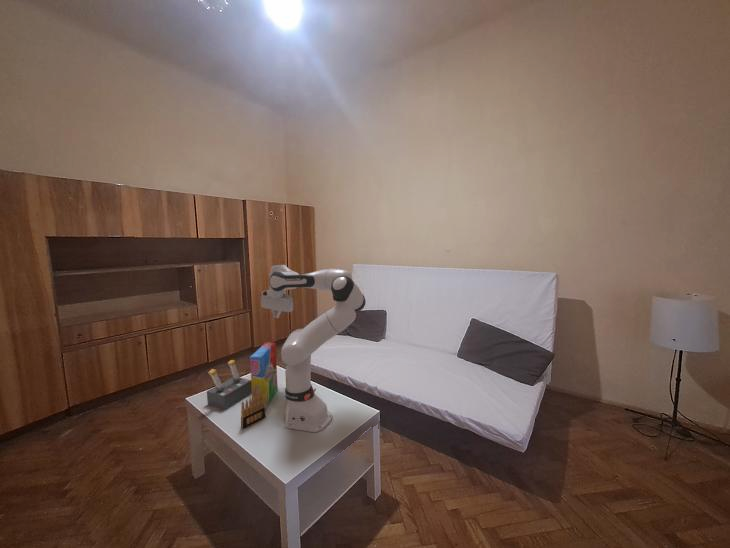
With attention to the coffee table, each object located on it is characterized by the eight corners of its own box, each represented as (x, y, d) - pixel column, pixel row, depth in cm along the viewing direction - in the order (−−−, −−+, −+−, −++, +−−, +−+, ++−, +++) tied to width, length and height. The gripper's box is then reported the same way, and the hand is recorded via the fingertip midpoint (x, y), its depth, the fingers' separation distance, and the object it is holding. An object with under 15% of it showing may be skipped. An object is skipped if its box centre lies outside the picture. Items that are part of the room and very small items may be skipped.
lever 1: (225, 388, 141) (216, 369, 136) (221, 392, 140) (212, 373, 134) (220, 387, 143) (211, 368, 138) (217, 390, 141) (207, 372, 136)
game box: (263, 412, 134) (260, 357, 131) (252, 412, 134) (249, 357, 131) (277, 389, 155) (275, 341, 152) (268, 389, 155) (265, 341, 152)
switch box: (252, 392, 152) (251, 380, 151) (224, 410, 136) (223, 395, 136) (235, 388, 157) (235, 375, 156) (207, 404, 141) (206, 390, 141)
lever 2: (241, 379, 150) (235, 360, 146) (237, 382, 148) (231, 363, 144) (237, 378, 152) (230, 359, 148) (233, 381, 150) (227, 362, 146)
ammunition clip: (243, 429, 122) (241, 403, 121) (241, 427, 123) (239, 401, 122) (265, 417, 130) (264, 392, 129) (263, 416, 132) (262, 391, 130)
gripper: (296, 294, 157) (295, 319, 158) (267, 290, 165) (266, 314, 166) (288, 296, 151) (287, 321, 152) (259, 291, 159) (258, 316, 160)
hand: (276, 317), depth 159 cm, fingers closed
